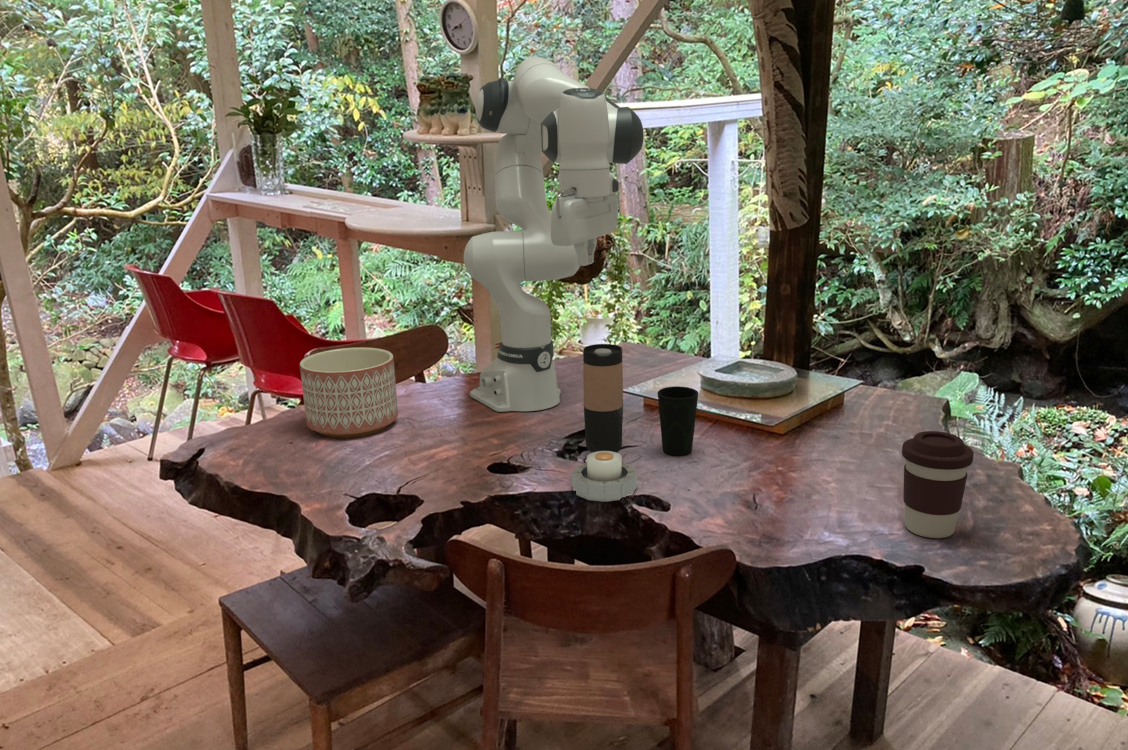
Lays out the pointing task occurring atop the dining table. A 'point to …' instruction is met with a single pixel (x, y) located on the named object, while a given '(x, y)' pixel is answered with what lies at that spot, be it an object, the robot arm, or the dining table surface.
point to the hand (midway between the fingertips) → (585, 264)
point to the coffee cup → (934, 482)
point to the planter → (349, 391)
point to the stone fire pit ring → (604, 484)
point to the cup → (677, 419)
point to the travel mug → (603, 397)
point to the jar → (604, 466)
